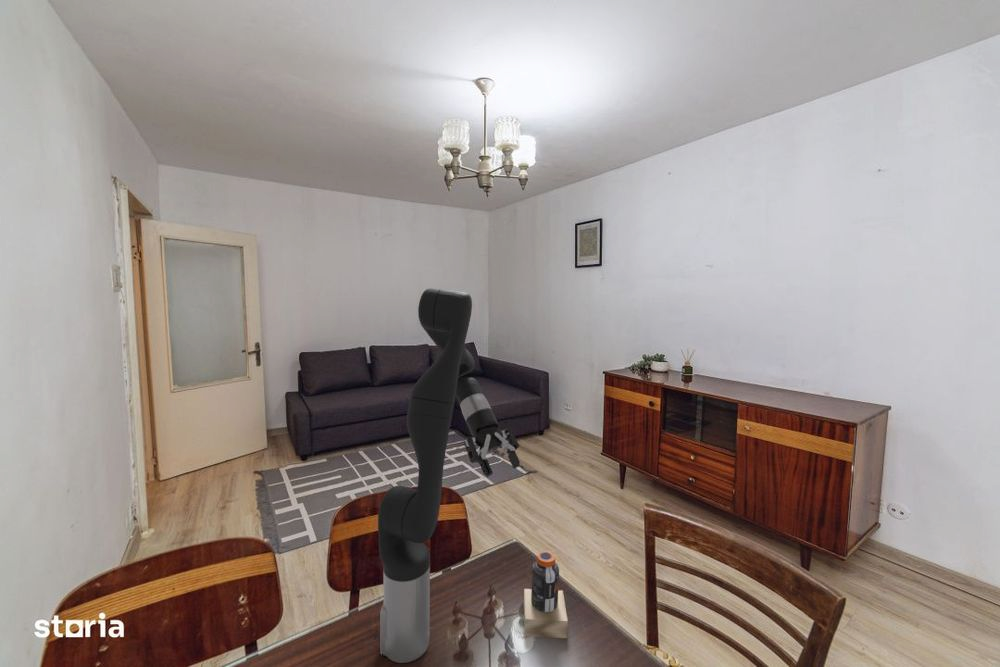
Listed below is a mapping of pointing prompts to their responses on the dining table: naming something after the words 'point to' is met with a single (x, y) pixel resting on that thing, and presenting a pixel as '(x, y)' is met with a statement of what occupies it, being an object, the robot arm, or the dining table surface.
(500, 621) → the dining table surface
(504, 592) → the dining table surface
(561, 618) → the maple block
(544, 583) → the pill bottle
